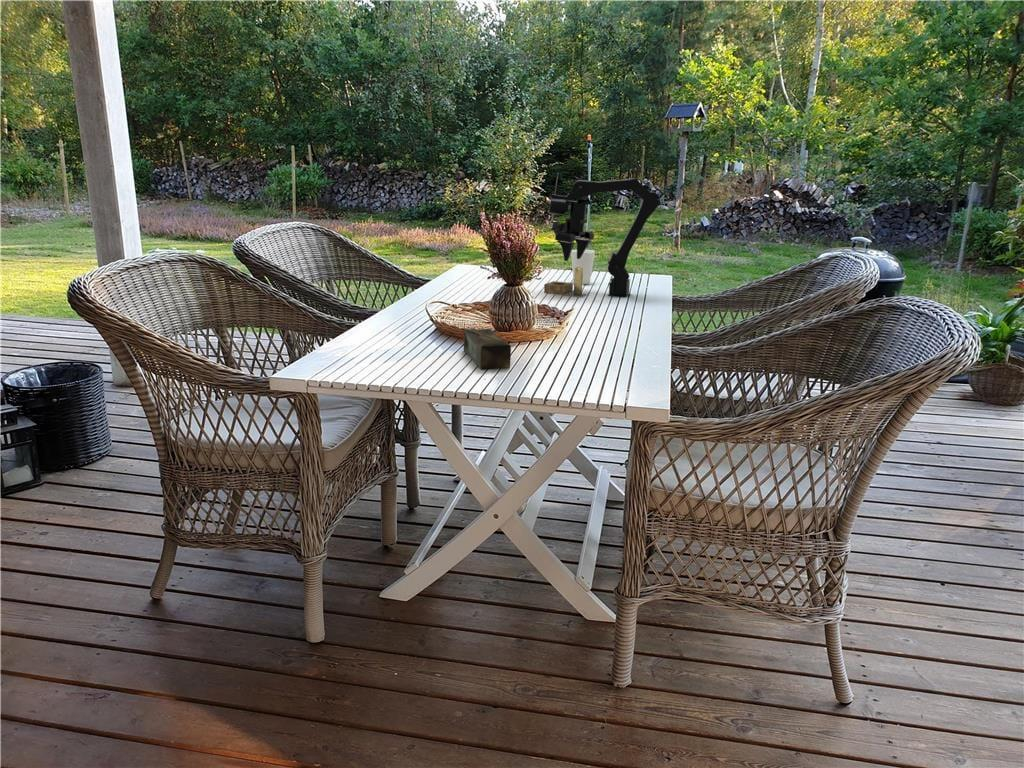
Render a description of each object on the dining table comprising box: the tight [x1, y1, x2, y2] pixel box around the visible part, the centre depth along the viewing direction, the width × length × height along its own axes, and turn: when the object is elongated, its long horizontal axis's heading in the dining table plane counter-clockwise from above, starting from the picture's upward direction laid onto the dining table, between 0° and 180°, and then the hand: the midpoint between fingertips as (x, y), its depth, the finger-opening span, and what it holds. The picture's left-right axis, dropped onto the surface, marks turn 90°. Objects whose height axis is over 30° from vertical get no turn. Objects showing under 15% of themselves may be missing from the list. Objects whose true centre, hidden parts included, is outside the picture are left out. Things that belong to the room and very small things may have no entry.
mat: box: [563, 292, 590, 299], centre depth 275 cm, size 7×7×1 cm
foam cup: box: [570, 249, 596, 285], centre depth 297 cm, size 10×9×13 cm
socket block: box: [543, 280, 574, 296], centre depth 279 cm, size 8×8×4 cm
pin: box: [573, 267, 583, 296], centre depth 273 cm, size 3×3×10 cm
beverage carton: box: [463, 327, 512, 370], centre depth 191 cm, size 8×19×7 cm, turn 16°
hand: (572, 259), depth 273 cm, fingers open, 9 cm apart
